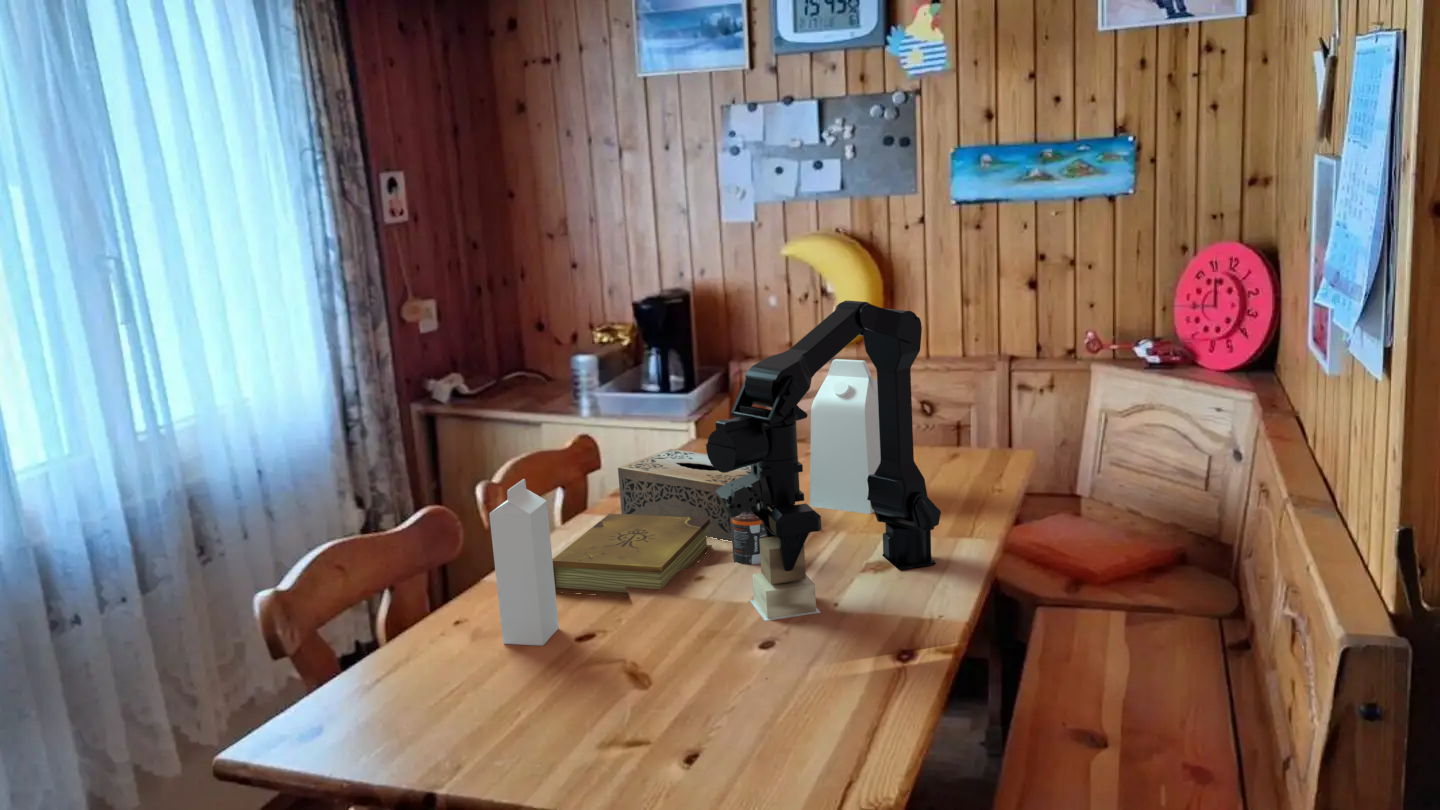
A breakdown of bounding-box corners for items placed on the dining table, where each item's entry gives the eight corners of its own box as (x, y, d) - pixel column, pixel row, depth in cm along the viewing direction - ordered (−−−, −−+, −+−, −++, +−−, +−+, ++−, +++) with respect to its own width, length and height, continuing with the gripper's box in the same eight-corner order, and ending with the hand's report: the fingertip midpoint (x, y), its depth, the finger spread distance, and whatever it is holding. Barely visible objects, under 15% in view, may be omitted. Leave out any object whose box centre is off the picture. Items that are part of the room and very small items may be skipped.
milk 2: (897, 495, 222) (893, 356, 216) (870, 514, 212) (865, 368, 207) (838, 488, 228) (833, 353, 222) (809, 506, 219) (803, 364, 213)
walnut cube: (795, 567, 172) (793, 533, 171) (805, 578, 167) (804, 544, 166) (761, 572, 171) (759, 538, 170) (771, 584, 166) (769, 549, 165)
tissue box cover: (785, 520, 212) (783, 465, 210) (735, 544, 202) (732, 487, 199) (674, 500, 228) (670, 448, 226) (622, 521, 217) (617, 467, 215)
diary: (607, 545, 206) (605, 513, 205) (712, 551, 200) (710, 517, 199) (548, 595, 185) (545, 559, 183) (663, 602, 179) (661, 565, 178)
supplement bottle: (768, 572, 187) (764, 502, 185) (730, 572, 188) (726, 502, 186) (774, 559, 193) (770, 490, 190) (737, 558, 194) (733, 490, 192)
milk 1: (502, 644, 166) (485, 490, 162) (520, 626, 172) (503, 477, 167) (544, 646, 165) (527, 491, 160) (560, 628, 171) (544, 477, 166)
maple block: (800, 593, 174) (799, 567, 173) (816, 611, 168) (814, 584, 167) (754, 600, 173) (752, 574, 172) (767, 618, 166) (765, 591, 165)
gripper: (704, 446, 172) (711, 550, 176) (736, 480, 155) (744, 595, 158) (779, 437, 175) (784, 540, 178) (820, 470, 157) (825, 583, 161)
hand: (782, 563), depth 169 cm, fingers open, 5 cm apart
